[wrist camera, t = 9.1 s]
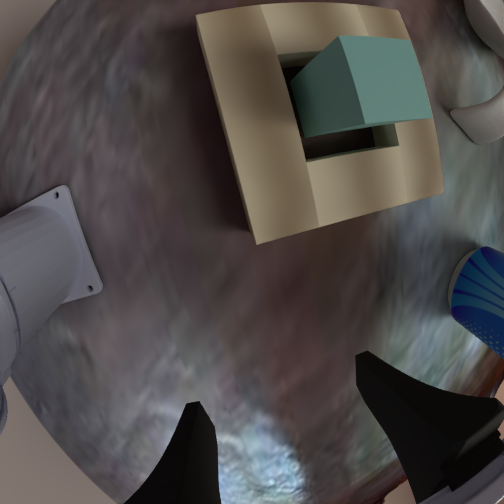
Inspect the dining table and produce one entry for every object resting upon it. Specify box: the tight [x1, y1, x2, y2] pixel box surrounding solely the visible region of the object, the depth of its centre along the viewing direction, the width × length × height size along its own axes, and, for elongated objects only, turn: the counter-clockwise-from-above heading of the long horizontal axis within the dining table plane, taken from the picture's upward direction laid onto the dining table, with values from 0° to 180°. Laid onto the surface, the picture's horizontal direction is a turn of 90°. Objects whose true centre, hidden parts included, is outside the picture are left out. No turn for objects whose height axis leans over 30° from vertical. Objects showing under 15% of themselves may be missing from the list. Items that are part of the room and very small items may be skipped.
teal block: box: [290, 36, 433, 138], centre depth 13 cm, size 4×4×8 cm
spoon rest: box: [450, 0, 504, 145], centre depth 13 cm, size 24×12×7 cm, turn 155°
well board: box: [196, 2, 444, 244], centre depth 15 cm, size 14×14×3 cm
